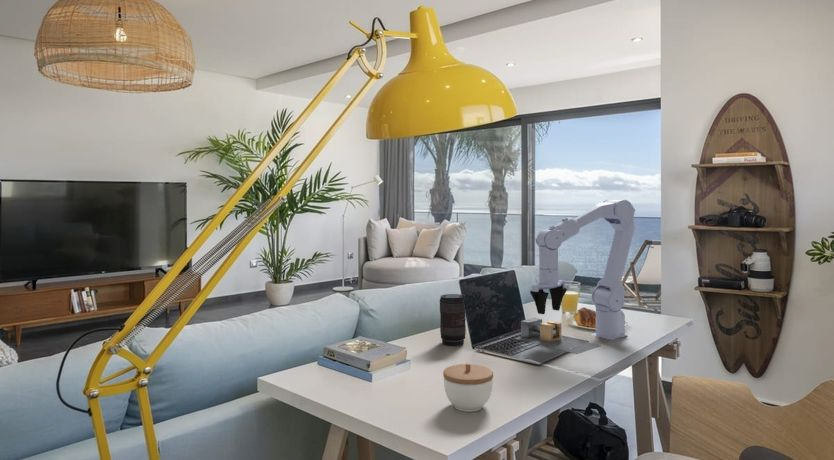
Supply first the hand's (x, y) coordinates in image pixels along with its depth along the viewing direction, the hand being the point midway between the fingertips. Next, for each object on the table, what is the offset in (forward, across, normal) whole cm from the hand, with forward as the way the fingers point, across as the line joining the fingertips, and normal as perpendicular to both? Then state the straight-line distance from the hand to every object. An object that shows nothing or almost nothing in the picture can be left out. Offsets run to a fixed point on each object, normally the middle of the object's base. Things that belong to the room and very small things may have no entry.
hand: (548, 311), depth 168 cm
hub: (+9, 0, -1) cm, 9 cm away
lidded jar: (+10, -56, -20) cm, 60 cm away
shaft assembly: (+9, 0, +3) cm, 9 cm away
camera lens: (+10, -23, +19) cm, 31 cm away
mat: (+9, 0, -3) cm, 10 cm away
